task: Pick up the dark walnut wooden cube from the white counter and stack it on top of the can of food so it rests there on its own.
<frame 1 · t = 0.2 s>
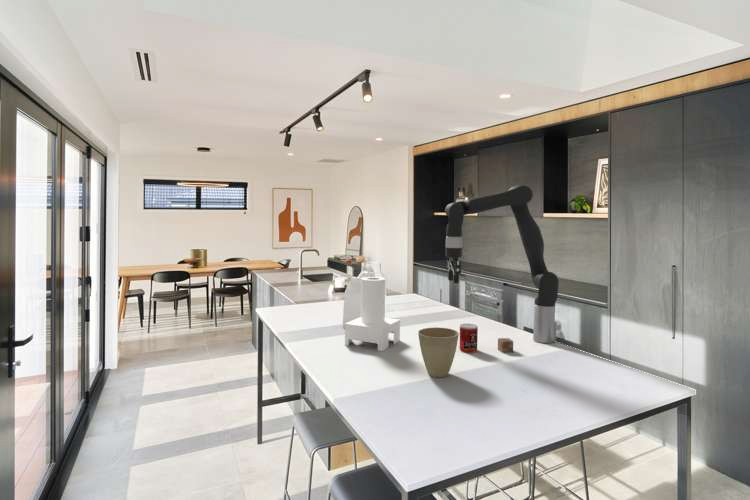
hand: (453, 281, 205), 29 cm above the table, tool pointing down, fingers open, 8 cm apart
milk: (357, 326, 238), on the table
walnut cube: (505, 351, 195), on the table
plant pot: (437, 374, 166), on the table
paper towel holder: (372, 343, 206), on the table
canned food: (468, 350, 196), on the table
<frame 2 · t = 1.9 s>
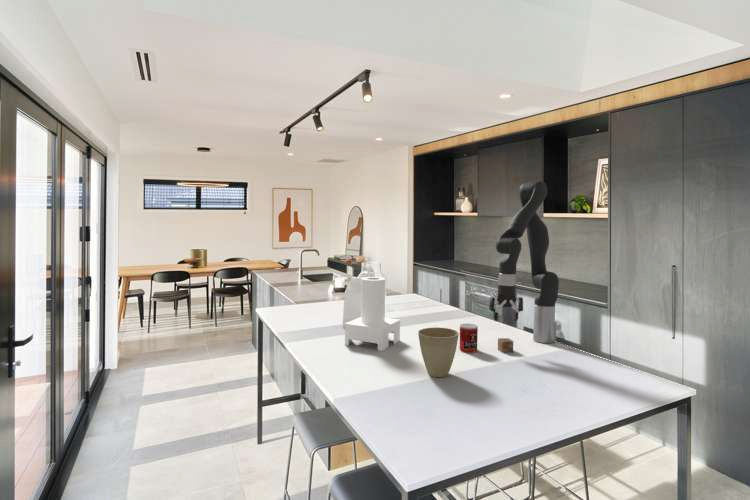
hand: (505, 320, 194), 13 cm above the table, tool pointing down, fingers open, 8 cm apart
nothing on the table moved.
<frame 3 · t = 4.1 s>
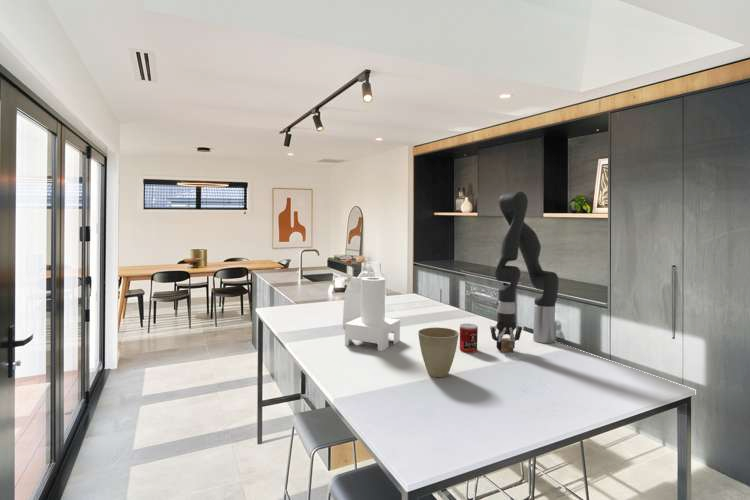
hand: (505, 349, 195), 1 cm above the table, tool pointing down, fingers closed on walnut cube, 5 cm apart
walnut cube: (505, 350, 195), on the table, touching gripper
everything else where it was.
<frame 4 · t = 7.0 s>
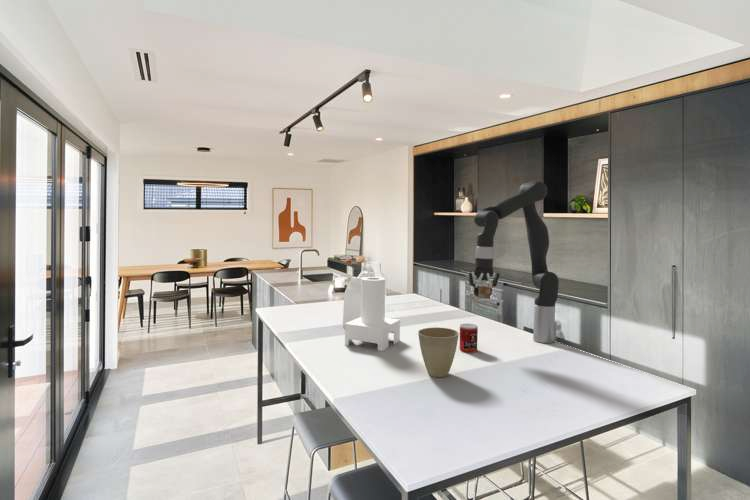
hand: (482, 295, 194), 24 cm above the table, tool pointing down, fingers closed on walnut cube, 5 cm apart
walnut cube: (482, 297, 194), point 24 cm above the table, touching gripper
everything else where it was.
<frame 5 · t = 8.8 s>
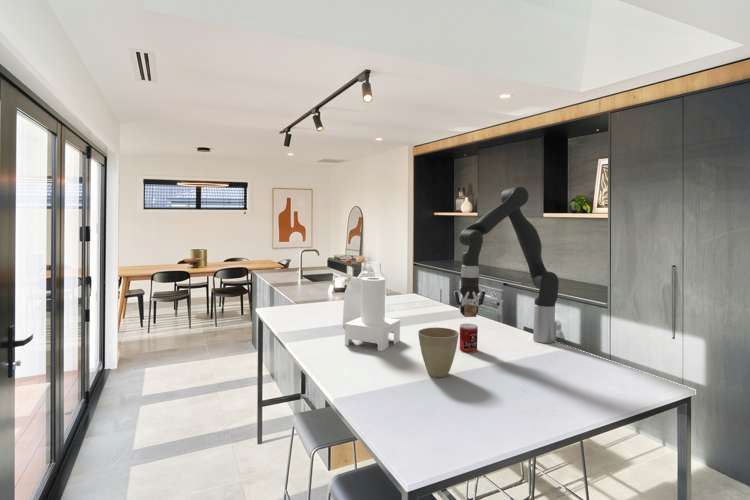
hand: (468, 314, 195), 16 cm above the table, tool pointing down, fingers closed on walnut cube, 5 cm apart
walnut cube: (469, 315, 195), point 15 cm above the table, touching gripper
everything else where it was.
when the fingers open (13 cm above the table, at t = 10.3 s): walnut cube stays where it is, resting on canned food.
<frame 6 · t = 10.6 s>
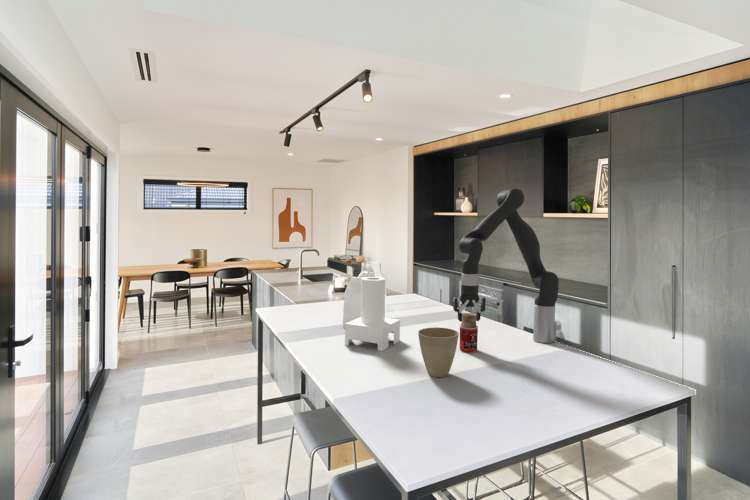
hand: (468, 320, 195), 13 cm above the table, tool pointing down, fingers open, 7 cm apart
walnut cube: (468, 325, 195), point 11 cm above the table, touching canned food
canned food: (468, 350, 196), on the table, touching walnut cube
everything else where it was.
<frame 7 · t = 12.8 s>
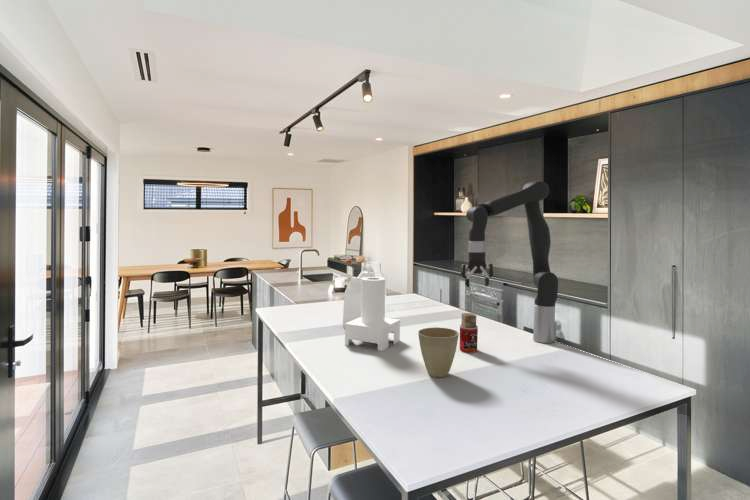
hand: (476, 286, 202), 27 cm above the table, tool pointing down, fingers open, 8 cm apart
nothing on the table moved.
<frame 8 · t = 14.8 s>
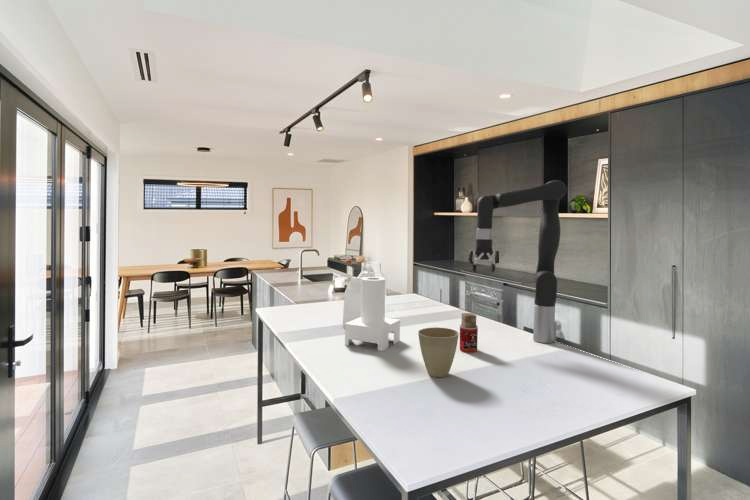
hand: (483, 272, 212), 32 cm above the table, tool pointing down, fingers open, 8 cm apart
nothing on the table moved.
at the end: walnut cube 0.1 cm off-centre on the canned food, point 11.2 cm above the canned food's base; walnut cube tilted 0°; the gripper is holding nothing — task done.
